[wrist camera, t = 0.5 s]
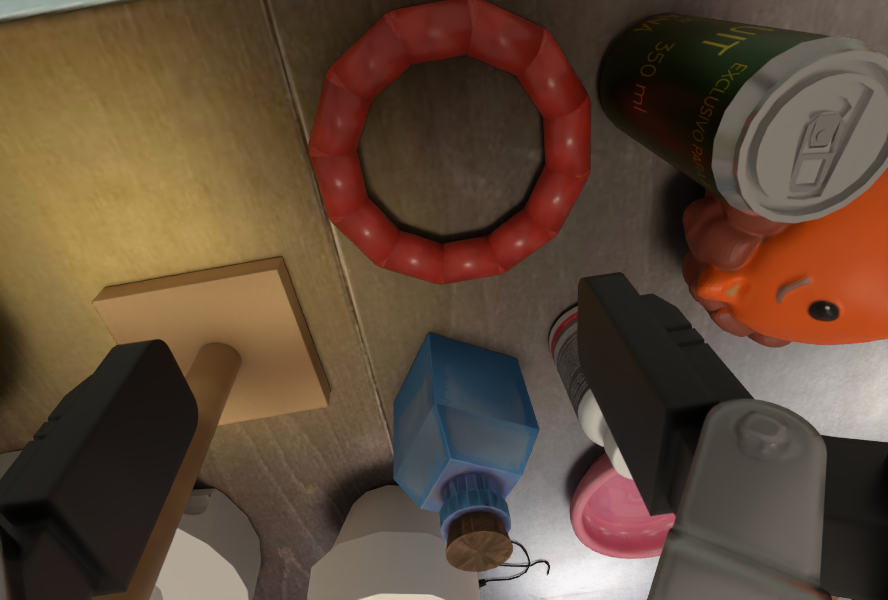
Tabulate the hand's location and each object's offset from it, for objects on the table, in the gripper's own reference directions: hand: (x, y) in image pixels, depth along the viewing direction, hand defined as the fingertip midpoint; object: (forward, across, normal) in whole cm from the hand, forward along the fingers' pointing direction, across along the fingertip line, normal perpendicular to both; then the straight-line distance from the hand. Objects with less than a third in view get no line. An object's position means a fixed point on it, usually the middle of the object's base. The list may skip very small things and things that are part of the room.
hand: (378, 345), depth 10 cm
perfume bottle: (+18, -1, +17) cm, 25 cm away
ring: (+17, -3, +2) cm, 17 cm away
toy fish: (+18, -19, +6) cm, 27 cm away
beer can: (+18, -13, 0) cm, 22 cm away
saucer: (+18, -15, +30) cm, 38 cm away
